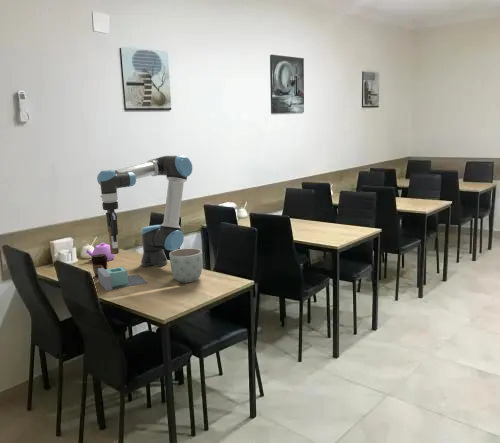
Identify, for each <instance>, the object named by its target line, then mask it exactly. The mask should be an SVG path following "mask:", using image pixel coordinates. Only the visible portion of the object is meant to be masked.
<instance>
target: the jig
mask: <svg viewBox="0 0 500 443" xmlns="http://www.w3.org/2000/svg"><path fill="white" fill-rule="evenodd" d="M127 277H128V284H125V285H119V286H114V287H112V281H111V276H110V274H109V273H108V272H107V271H106V270H105V269H104V268H98V282H99V283H100V285H101V286H102V287H103V288H104V290H105V291H106V292H107V291H111V290H112V291H113V290H117V289H122V288H129V287H134V286H140V285H143V284H144V285H145V284H148V282H147V281H146V280H144V278H143V277H142V276H139V275H138V274H134V275H127Z"/></svg>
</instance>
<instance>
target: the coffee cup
mask: <svg viewBox="0 0 500 443" xmlns="http://www.w3.org/2000/svg"><path fill="white" fill-rule="evenodd" d="M107 258H108V257H107V256H106V254H98V255H93V256H92V257H91V260H90V261H91V263H92V269H93V274H94V277H95V278H96V279H97V278H98V268H104V269H108V261H107Z"/></svg>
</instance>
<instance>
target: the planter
mask: <svg viewBox="0 0 500 443" xmlns="http://www.w3.org/2000/svg"><path fill="white" fill-rule="evenodd" d="M168 255H169V256H168V257H169V261H170V262H169V263H170V270H171V274H172V277H173V278H174V280H175V281H177V282H179V283H182V284H188V282H189V283H193V282H197V280H199V278H200V277H201V274H202V272H203V270H202V268H203V265H202V264H203V251H202V250H201V249H199V248H193V247H191V248H179V249H177V250H171V251H170V252H169V253H168Z"/></svg>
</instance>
